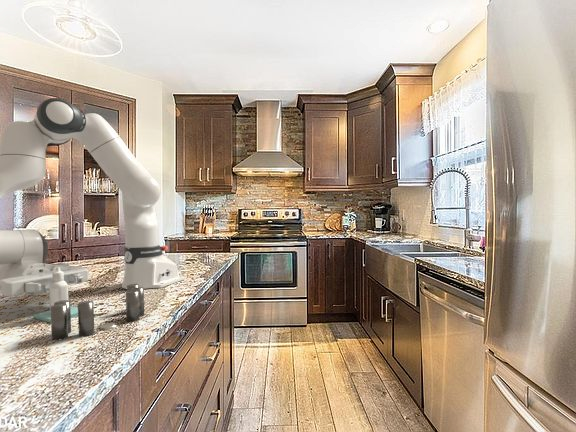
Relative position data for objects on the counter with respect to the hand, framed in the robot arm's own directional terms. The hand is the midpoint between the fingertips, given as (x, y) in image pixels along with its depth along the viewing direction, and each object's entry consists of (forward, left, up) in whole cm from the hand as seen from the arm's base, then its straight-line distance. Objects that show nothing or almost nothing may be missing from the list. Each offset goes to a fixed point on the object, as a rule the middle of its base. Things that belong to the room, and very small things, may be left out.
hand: (62, 283), depth 89 cm
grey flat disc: (0, +19, -9) cm, 21 cm away
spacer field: (-1, +16, -9) cm, 18 cm away
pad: (0, -1, -8) cm, 9 cm away
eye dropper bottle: (+1, -1, -8) cm, 8 cm away
